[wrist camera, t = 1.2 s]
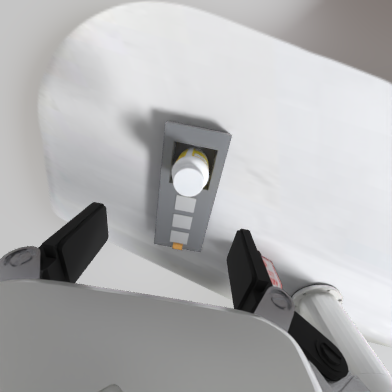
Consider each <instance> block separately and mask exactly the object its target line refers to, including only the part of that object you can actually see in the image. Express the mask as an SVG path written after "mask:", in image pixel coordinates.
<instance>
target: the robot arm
mask: <svg viewBox="0 0 392 392" xmlns="http://www.w3.org/2000/svg"><path fill="white" fill-rule="evenodd" d="M107 239H108V226H107V213H106V207H105V206H104V205H103V204H101V203H96V202H93V203H92V204H90V205H89V206H88V207H87V208H85V209H84V210H83V211H82V212H81V213H79V214H78V215H77V216H76V217H74V218H73V219H72V220H71V221H69V222H68V223H67V224H66V225H65V226H63V227H62V228H61V229H60V230H58V231H57V232H56V233H55V234H53V235H52V236H51V237H50V238H49V239H47V240H46V241H45V242H44V243H42V245H41V246H40V247H39V248H37V247H34V246H27V247H21V248H18V249H15V250H13V251H11V252H9V253H7V254H6V255H4V256H3V257H2V258H1V259H0V392H392V376H391V375H390V373H389V372H388V370H387V369H386V368H385V366H384V365H383V363H382V362H381V361H380V359H379V358H378V356H377V355H376V353H375V352H374V351H373V349H372V348H371V346H370V345H369V344H368V342H367V341H366V339H365V338H364V337H363V335H362V334H361V332H360V331H359V330H358V328H357V327H356V325H355V324H354V322H353V321H352V320H351V318H350V317H349V315H348V314H347V313H346V311H345V310H344V308H343V307H342V306H341V304H342V302H343V296H342V295H341V293H340V292H339V291H338V290H337V289H336V288H334V287H332V286H328V285H313V286H308V287H305V288H303V289H301V290H299V291H297V292H296V293H295V294H294V295H293V296H292V298H291V297H290V296H289V294H288V293H287V292H285V291H284V290H283V289H281V288H279V287H275V286H273V284H272V282H271V279H270V277H269V274H268V272H267V269H266V267H265V264H264V261H263V259H262V256H261V254H260V252H259V251H257V249H256V246H255V244H254V241H253V238H252V236H251V233H250V231H249V230H245V229H240V231H239V230H238V231H237V233H236V236H235V238H234V241H233V243H232V246H231V249H230V251H229V254H228V256H227V265H228V272H229V279H230V285H231V292H232V298H233V305H234V309H231V308H226V307H221V306H215V305H210V304H203V303H198V302H192V301H185V300H179V299H173V298H167V297H160V296H154V295H148V294H142V293H135V292H129V291H123V290H116V289H110V288H102V287H96V286H90V285H83V284H76V283H75V282H76V281H77V279H78V278H79V277H80V276H81V274H82V273H83V272H84V270H85V269H86V268H87V266H88V265H89V264H90V262H91V261H92V260H93V258H94V257H95V256H96V254H97V253H98V252H99V250H100V249H101V248H102V247H103V245H104V244H105V243H106V241H107Z"/></svg>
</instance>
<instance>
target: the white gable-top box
mask: <svg viewBox="0 0 392 392" xmlns="http://www.w3.org/2000/svg"><path fill="white" fill-rule="evenodd" d="M262 259H263V261H264V264H265V267H266V269H267V272H268V274H269V277H270V279H271V282H272V284H273V286H275V287H279V288H281V289H282V284H281V281H280V279H279V277H278V275H277V272H276V270H275V268H274V266H273V264H272V262H271V261H269V260H268V259H266V258H264V257H262Z"/></svg>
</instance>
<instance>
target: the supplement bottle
mask: <svg viewBox="0 0 392 392" xmlns="http://www.w3.org/2000/svg"><path fill="white" fill-rule="evenodd" d="M208 178H209V168H208V159H207V156H206V155H205V153H204V152H203V151H202V150H200V149H198V148H188V149H185V150H184V151H183V152H182V153H181V154H180V155H179V157H178V159H177V161H176V162H175V164H174V166H173V169H172V179H173V185H174V188H175V190H176V191H177V192H178V193H179V194H181V195H183V196H187V197H191V196H195V195H197V194H198V193H200V192H201V190H202V189H203V187H204V186H205V185H206V183H207V181H208Z"/></svg>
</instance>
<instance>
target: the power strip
mask: <svg viewBox="0 0 392 392" xmlns="http://www.w3.org/2000/svg"><path fill="white" fill-rule="evenodd" d="M231 137H232V135H231V134H230V133H225V132H220V131H216V130H211V129H206V128H201V127H196V126H191V125H187V124H182V123H177V122H172V121H167V122H166V123H165V133H164V144H163V155H162V165H161V176H160V187H159V197H158V208H157V219H156V229H155V240H154V244H159V245H164V246H170V247H173V249H179V250H182V249H187V250H192V251H198V252H201V248H202V244H203V240H204V237H205V233H206V229H207V226H208V222H209V218H210V215H211V211H212V207H213V204H214V200H215V196H216V193H217V189H218V185H219V181H220V178H221V174H222V170H223V167H224V163H225V159H226V156H227V152H228V148H229V145H230V141H231ZM176 142H180V143H185V144H190V145H195V146H200V147H204V148H209V149H214V150H216V153H215V157H214V161H213V165H212V169H211V174H210V178H209V182H208V184H206V185H205V186H204V187H203V189H202V190H201V192H200V193H198V194H197V195H195V196H191V197H187V196H183V195H181V194H179V193H178V192H177V191H176V190H175V188H174V185H173V179H172V169H173V164H174V156H175V148H176Z"/></svg>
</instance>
